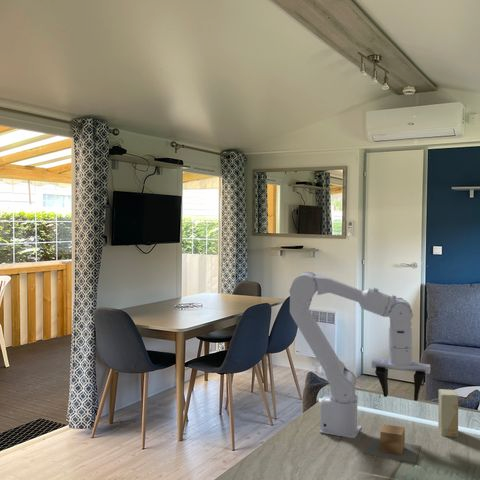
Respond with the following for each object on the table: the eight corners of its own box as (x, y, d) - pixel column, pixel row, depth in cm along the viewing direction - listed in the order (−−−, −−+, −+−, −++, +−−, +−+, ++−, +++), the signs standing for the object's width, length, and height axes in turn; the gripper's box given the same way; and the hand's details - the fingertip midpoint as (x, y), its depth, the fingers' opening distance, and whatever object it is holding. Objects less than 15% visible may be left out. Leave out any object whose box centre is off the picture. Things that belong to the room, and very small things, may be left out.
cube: (380, 451, 132) (380, 431, 132) (384, 443, 137) (384, 424, 136) (401, 455, 130) (401, 435, 130) (404, 447, 135) (404, 427, 134)
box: (458, 437, 141) (459, 395, 140) (440, 436, 142) (441, 394, 141) (454, 429, 146) (455, 389, 145) (437, 428, 147) (438, 388, 146)
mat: (363, 454, 131) (363, 453, 131) (372, 439, 140) (372, 437, 140) (415, 464, 126) (415, 462, 126) (420, 447, 135) (420, 445, 135)
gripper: (431, 344, 141) (432, 396, 142) (375, 340, 148) (376, 389, 148) (428, 351, 135) (428, 405, 136) (369, 346, 141) (370, 397, 142)
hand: (400, 397), depth 141 cm, fingers open, 7 cm apart
